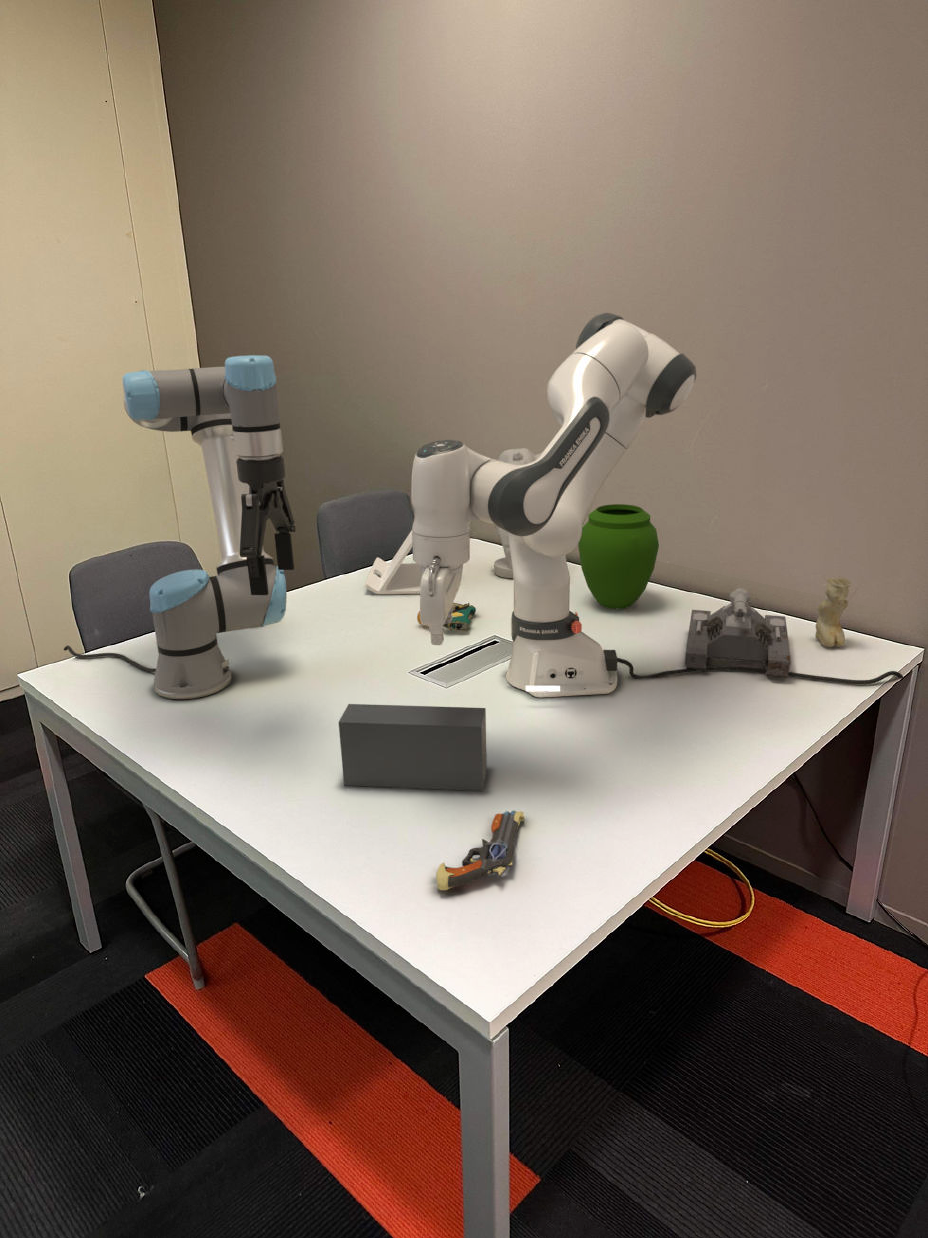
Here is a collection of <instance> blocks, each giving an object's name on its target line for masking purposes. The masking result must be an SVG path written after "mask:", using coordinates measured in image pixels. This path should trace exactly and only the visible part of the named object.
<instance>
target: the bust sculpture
mask: <svg viewBox="0 0 928 1238" xmlns="http://www.w3.org/2000/svg"><path fill="white" fill-rule="evenodd" d="M542 453H543V452H541V453H540V452H539V453H537V454H535V453H533V452H532V451H531V450H529V449H528V448H525V447H522V448H512V449H506V450H504V451H502V452H501V454H500V455H499V457H498V459H497V460H500V461H503V462H506V463H510V464H514V465H525V464H528V463H531V462H534V461H535V460H537V459H538V458H539V456H540V455H541V454H542ZM493 526H494V527H495V529H496V532H497V534H498V537H499V540H500V542H501V546H502V548H503V553H504V557H502V558H498V559H496V560H495V561H494V562H493V573H494V574H495V575H496V576H497V577H500V578H506V579H513V568H512V560H511V553H510V544H509V533H508V532H507V531H505V530H503V529H501V528H499V527H498V526H495V525H493Z"/></svg>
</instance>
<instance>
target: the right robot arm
mask: <svg viewBox="0 0 928 1238" xmlns="http://www.w3.org/2000/svg"><path fill="white" fill-rule="evenodd" d="M696 379H697V367H696V365H695V364H694V362H693V361H692V360H690V358H689V357H687V356H686V355H685V354H684V353H680V352H679V351H678V350H676V349H675V348H674V347H672V346H671V345H670V344H669V343H668V342H667V341H665V340H664V339H662V338H660V337H659V336H658V335H656V334H654V333H650V332H648V331H647V330H645V329H644V328H641V327H639V326H637V325H636V324H633V323H631V322H629V321H627V320H625V319H624V318H623V317H622V316H620V315H618V314H614V313H610V312H603V313H600V314H597V315H595V316H593V317H592V318H591V319H590V320H588V322H587V323H586V325H585V326H584V327H583V329H582V330H581V332H580V333H579V336H578V338H577V341H576V345H575V350H574V351H573V352H572V353H571V354H570V355H569V356H567V358H565V360H563V362H562V363H561V364H560V365H559V366H558V367H557V369H555V371H554V372H553V374H552V375H551V377H550V378H549V380H548V382H547V386H546V398H547V404H548V407H549V409H550V412H551V413H552V415H553V417H554V418H555V419H556V421H557V422H558V424H559V425H560V426H561V427H560V429H559V430H558V432H557V433H556V434H555V435H554V437H553V438H552V439H551V440H550V442H549V443H548V445H547V446H546V447H545V448H544V449H543V451H542V452H541V453H542V454H541V455H540V456H539V458H538V459H537V460H535V461H534V462H531V463H528V464H525V465H514V464H510V463H506V462H503V461H500V460H498V459H495V458H492V457H489V456H485V455H483V454H481V453H479V452H477V451H474V450H473V449H471V448H469V447H468V446H466V444H465V443H464V442H463V441H461V440H457V439H444V440H441V439H439V440H435V441H431V442H428V443H426V444H424V445H422V446H421V447H420V448H418V449H417V451H416V452H415V455H414V458H413V462H412V469H411V481H410V482H411V485H410V487H411V489H410V493H411V494H410V496H411V506H412V509H413V515H414V517H413V523H412V526H411V528H412V529H411V531H412V560H413V562H414V563H418V564H420V565H421V570H422V571H423V572H424V573H423V575H422V578H421V586H420V594H419V611H420V621H421V624H422V625H421V624H420V625H421V626H424V625H428V626H429V627H428V630H429V633H430V644H431V645H432V646H442V645H443V643H444V640H445V631H444V627H443V625H444V624H445V623H446V624H449V623H451V621H452V609H453V603H455V602H454V601H455V599H456V596H457V594H458V592H459V589H460V587H461V583H462V579H463V570H464V564H467V563H468V562H469V561H470V559H471V522H472V521H475V520H479V521H482V522H484V523H487V524H490V525H493V526H494V525H495V526H498V527H499V528H501V529H503V530H505V531H507V532H508V533H509V544H510V553H511V560H512V568H513V578H512V579H513V611H512V612H511V618H510V635H511V640H512V645H511V646H512V647H511V655H510V660H509V665H508V669H507V672H506V675H505V678H506V681H507V683H509V684H510V685H511V686H513V687H515V688H517V689H519V690H522V691H525V692H527V693H529V694H530V695H531V696H533V697H535V698H556V697H572V696H573V697H574V696H588V695H589V696H590V695H591V696H592V695H607V694H611V693H612V692H613V691H615V690H616V688H617V686H618V673H617V671H618V663H620V664H623V665H625V666H627V667H628V669H629V676H630V677H631V678H633V679H635V680H639V679H640V680H642V679H655V678H656V679H657V678H659V677H664V676H670V675H680V674H685V673H693V672H699V671H698V670H695V669H692V668H687V667H685V668H680V669H673V670H664V671H660V672H657V673H656V672H655V673H653V674H648V675H638V674H636V673H635V671H634V670H635V668H634V665H633V664H632V662H630V661H628V660H626V659H623V658H621V657H618V655H617V652H616V651H617V650H616V649H604V648H603V647H602V645H601V644H600V643H599V642H598V641H596V640H595V639H593V638H591V637H590V636H589V635H587V634H586V633H585V632H583V631H582V630H583V626H582V625H583V624H582V622H581V621H580V616H579V615H578V612H577V611H575V613H574V612H573V611H571V610H570V590H571V589H570V586H571V585H570V584H571V575H570V570H569V568H568V562H567V554H570V553H571V552H572V551H573V550H575V548H576V547H577V546H578V543H579V541H580V538H581V534H582V527H583V526H584V525H585V522H586V519H587V518H588V515H589V514H590V510H591V509H592V506H593V504H594V502H595V500H596V498H597V496H598V494H599V491H600V489H601V488H602V486H603V484H604V483H605V481H606V480H607V478H608V477H609V476H610V474H611V473H612V471H613V469H615V467H616V466H617V464H618V462H619V461H620V460H621V458H622V457H623V456H624V454H625V453H626V452H627V450H628V449H629V447H630V446H631V444H632V443H633V441H634V440H635V438H636V437H637V435H638V434H639V431H640V429H641V428H642V426H643V424H644V422H645V420H646V419H647V418H648V419H650V418H652V417H654V416H663V415H667V414H669V413H673V412H674V411H675V410H676V409H678V408H679V407H680V406H681V405H682V404H683V403H685V401H686V400H687V399H688V398H689V396H690V394H691V392H692V391H693V388H694V384H695V382H696ZM495 526H494V527H495ZM706 671H739V672H750V673H751V672H752V673H762V674H766V668H760V667H750V666H736V665H733V666H732V665H709V666H708V665H706V669H705V671H704V672H706ZM890 676H891V677H892V676H895V677H897V678H898V679H901V680H903V679H904V678H905V677H904V676H903V674H902V673H901V672H899V671H896V670H890V671H887V672H885V673H883V674H880V675H879V676H876V677H874V678H872V679H871V678H870V679H849V678H840V677H839V678H838V677H830V676H821V675H814V674H809V673H808V674H806V673H802V672H801V673H800V672H793V671H789V673H788V676H787V677H793V678H801V679H806V680H815V681H822V682H830V683H839V684H846V685H847V684H848V685H872V684H876V683H879V682H881V681H883V680H885V679H887V678H888V677H890Z"/></svg>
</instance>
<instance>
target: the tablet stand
mask: <svg viewBox="0 0 928 1238" xmlns="http://www.w3.org/2000/svg"><path fill="white" fill-rule="evenodd" d="M412 549H413V547H412V530H411V531H410V532H409V533H408V535H407V537H406V538H405V539H404V541H403V543H402V544H401V546H400V547H399V549H398V550H397V552H396V553H395V554H394V556H393V558H392V559H391V561H390V563H388V562H387V561H385V560H383V559H381V558H380V557H376V558H375V559H374V562H373V564H372V566H371V569H370V571H369V573H368V575H367V578H366V580H365V582H364V584H363V587H364V588H366V589H367V590H369V591H370V592H372V593H374V594H376V595H416V594H417V595H420V586H421V578H422V575H423V573H424V572H423V571H422V570H421V565H420V564H418V563H416V562H414V563H413V562H411V563H408V562H407V563H403V562H404V560H405V559H406V557H407V556H408V554H409V553H410V551H411V550H412ZM378 575H379V576H378Z"/></svg>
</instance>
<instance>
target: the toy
mask: <svg viewBox="0 0 928 1238" xmlns="http://www.w3.org/2000/svg"><path fill="white" fill-rule="evenodd" d="M729 601H730V603H729V604H726V605H723V606H722V607H721V608H719V609H718V610H716V611H715V612H713V613H712V611H711V610H701V609H691V615H690V620H689V627H688V634H687V640H686V649H685V659H684V666H685V668H692V669H695V670H698V671H697V672H706V671H705V669H706V667H707V658H711V659H714V660H727V661H738V662H747V663H749V662H750V663H763V662H764V663H765V669H766V673H765V676H766V677H774V678H775V677H777V678H778V677H779V678H787V677H789V676H788V673H789V672H790V668H791V663H792V661H791V660H792V657H791V648H790V641H789V635H788V628H787V619H786V616H785V615H784V616H783V615H771V614H770V615H769V614H765V615H764V616H763V615H761V613H759V612H758V611H757V610H756V609H755V608H754V607H752V606H751V605H749V603H750V601H751V593H750V592H749V591H748V590H747V589H746V588H743V587H740V588H739V587H737V588H735V589H734V590H733V591H732V592H731V593H730V595H729Z"/></svg>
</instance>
